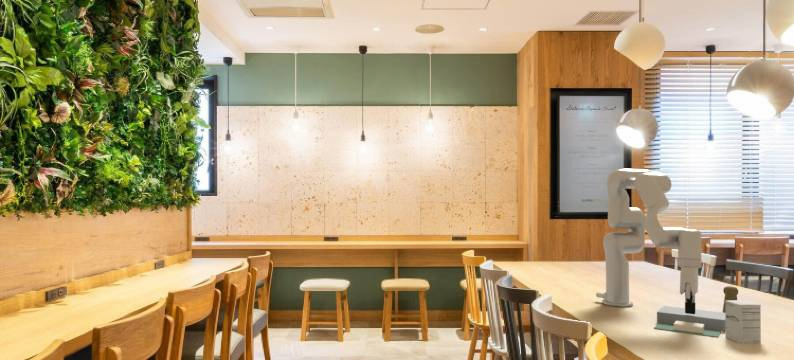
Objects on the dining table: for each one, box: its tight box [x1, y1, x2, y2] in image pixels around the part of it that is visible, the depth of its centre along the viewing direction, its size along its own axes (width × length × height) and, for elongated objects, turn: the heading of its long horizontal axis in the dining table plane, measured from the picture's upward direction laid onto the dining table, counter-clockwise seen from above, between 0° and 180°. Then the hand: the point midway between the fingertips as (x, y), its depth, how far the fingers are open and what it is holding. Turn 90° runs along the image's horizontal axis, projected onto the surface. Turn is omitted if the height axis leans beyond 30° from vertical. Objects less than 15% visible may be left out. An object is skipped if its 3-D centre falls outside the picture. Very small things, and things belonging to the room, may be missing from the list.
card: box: [674, 321, 704, 333], centre depth 192 cm, size 9×6×2 cm, turn 55°
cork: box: [721, 285, 739, 313], centre depth 220 cm, size 6×6×11 cm
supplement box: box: [725, 299, 762, 344], centre depth 180 cm, size 7×7×13 cm
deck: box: [656, 305, 726, 332], centre depth 204 cm, size 22×14×4 cm, turn 54°
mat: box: [653, 323, 722, 338], centre depth 193 cm, size 20×10×1 cm, turn 54°
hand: (690, 313), depth 199 cm, fingers closed
